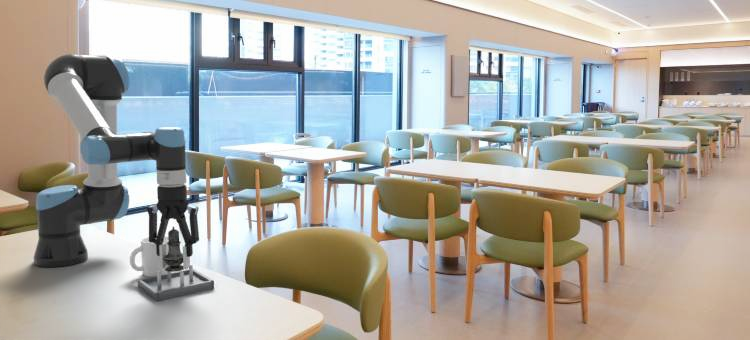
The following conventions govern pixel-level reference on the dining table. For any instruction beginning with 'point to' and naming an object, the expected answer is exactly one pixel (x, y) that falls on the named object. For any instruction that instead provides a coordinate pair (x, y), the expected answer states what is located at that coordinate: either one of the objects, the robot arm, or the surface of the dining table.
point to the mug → (148, 258)
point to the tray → (175, 284)
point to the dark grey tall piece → (174, 252)
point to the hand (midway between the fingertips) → (175, 267)
